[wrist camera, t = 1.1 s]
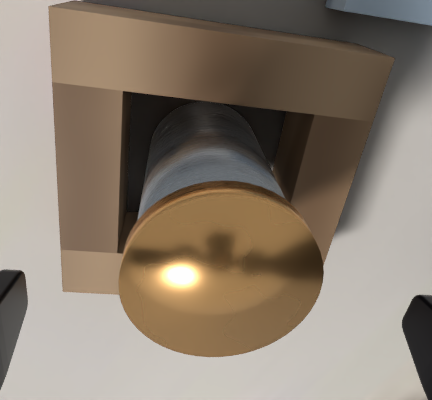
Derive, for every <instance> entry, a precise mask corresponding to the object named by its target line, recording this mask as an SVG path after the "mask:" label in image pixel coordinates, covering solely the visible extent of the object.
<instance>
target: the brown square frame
mask: <svg viewBox="0 0 432 400" xmlns="http://www.w3.org/2000/svg"><path fill="white" fill-rule="evenodd" d="M48 7H49V27H50V47H51V67H52V87H53V107H54V126H55V146H56V166H57V186H58V206H59V226H60V246H61V266H62V286H63V292H79V293H98V294H118V295H119V284H118V280H119V272H120V267H121V262H122V257H123V252H124V248H125V244H126V241H127V238H128V236H129V234H130V232H131V230H132V228H133V226H134V225H135V224H136V222H137V220H138V214H139V213H137V212H126V210H127V188H128V165H129V143H130V120H131V98H132V92H136V93H144V94H152V95H160V96H168V97H176V98H184V99H193V100H201V101H209V102H217V103H225V104H233V105H241V106H249V107H257V108H265V109H273V110H282V111H287V112H286V116H285V120H284V124H283V129H282V133H281V137H280V141H279V146H278V150H277V154H276V158H275V163H274V167H273V171H272V172H273V174H274V176H275V178H276V180H277V183H278V185H279V187H280V189H281V191H282V193H283V195H284V197H285V199H286V200H287V201H288V202H289V203H291V204H292V205H293V206H294V207H295V208H296V209H297V211H298V212H299V213H300V214H301V215H302V217H303V219H304V220H305V222H306V223H307V225H308V227H309V229H310V231H311V233H312V235H313V237H314V239H315V241H316V243H317V245H318V247H319V250H320V252H321V256H322V260H323V265H324V262H325V259H326V256H327V253H328V251H329V248H330V245H331V242H332V239H333V236H334V233H335V230H336V227H337V225H338V222H339V219H340V216H341V213H342V210H343V207H344V204H345V201H346V199H347V196H348V193H349V190H350V187H351V184H352V181H353V178H354V175H355V172H356V170H357V167H358V164H359V161H360V158H361V155H362V152H363V149H364V146H365V144H366V141H367V138H368V135H369V132H370V129H371V126H372V123H373V120H374V118H375V115H376V112H377V109H378V106H379V103H380V100H381V97H382V94H383V92H384V89H385V86H386V83H387V80H388V77H389V74H390V71H391V68H392V66H393V63H394V60H395V58H394V57H391V56H388V55H386V54H383V53H380V52H377V51H375V50H372V49H369V48H367V47H364V46H361V45H359V44H356V43H349V42H343V41H336V40H329V39H323V38H316V37H310V36H303V35H297V34H290V33H284V32H277V31H271V30H264V29H257V28H251V27H244V26H238V25H231V24H225V23H218V22H212V21H205V20H199V19H192V18H186V17H179V16H172V15H166V14H159V13H153V12H146V11H140V10H133V9H127V8H120V7H114V6H107V5H101V4H94V3H87V2H81V1H70V2H65V3H61V4H56V5H52V6H48Z"/></svg>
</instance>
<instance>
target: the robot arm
mask: <svg viewBox="0 0 432 400" xmlns="http://www.w3.org/2000/svg"><path fill="white" fill-rule="evenodd" d="M27 304H28V298H27V288H26V279H25V274H24V272H22V271H20V270H1V271H0V389H1V387H2V385H3V382H4V380H5V377H6V374H7V371H8V368H9V365H10V362H11V358H12V355H13V352H14V349H15V346H16V342H17V339H18V336H19V333H20V330H21V326H22V323H23V320H24V317H25V314H26V310H27ZM402 328H403V332H404V335H405V338H406V340H407V343H408V346H409V349H410V352H411V355H412V358H413V361H414V364H415V367H416V370H417V372H418V375H419V378H420V381H421V384H422V386H423V389H424V391H425V394H426V396H427V398H428V400H432V296H431V295H416V296H415V297H414V298H413V299H412V301H411V303H410V305H409V307H408V309H407V311H406V313H405V315H404V317H403V320H402Z"/></svg>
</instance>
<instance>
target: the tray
mask: <svg viewBox="0 0 432 400" xmlns="http://www.w3.org/2000/svg"><path fill="white" fill-rule="evenodd" d="M325 7H326V8H331V9H336V10H341V11H346V12H352V13H358V14H364V15H370V16H376V17H382V18H388V19H394V20H401V21H407V22H413V23H419V24H425V25H431V26H432V0H327V2H326V6H325Z"/></svg>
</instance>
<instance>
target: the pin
mask: <svg viewBox="0 0 432 400" xmlns="http://www.w3.org/2000/svg"><path fill="white" fill-rule="evenodd" d="M323 274H324V271H323V260H322V256H321V252H320V250H319V247H318V245H317V243H316V241H315V239H314V237H313V235H312V233H311V231H310V229H309V227H308V225H307V223H306V222H305V220H304V219H303V217H302V215H301V214H300V213H299V212H298V211H297V209H296V208H295V207H294V206H293V205H292V204H291V203H289V202H288V201H287V200H286V199H285V197H284V195H283V193H282V191H281V189H280V187H279V185H278V183H277V180H276V178H275V176H274V174H273V172H272V170H271V168H270V166H269V164H268V162H267V160H266V158H265V156H264V154H263V151H262V149H261V147H260V145H259V143H258V141H257V139H256V137H255V135H254V133H253V131H252V129H251V127H250V125H249V124H248V122H247V121H246V120H245V119H244V118H243V117H242V116H241V115H240V114H239V113H238V112H236V111H235V110H233V109H232V108H229V107H227V106H225V105H222V104H219V103H215V102H205V101H203V102H194V103H189V104H186V105H183V106H181V107H179V108H177V109H175V110H173V111H172V112H170V113H169V114H168V115H167V116H166V117H165V118H164V119H163V120H162V121H161V122H160V123H159V125H158V126H157V128H156V129H155V131H154V134H153V136H152V139H151V143H150V149H149V155H148V161H147V167H146V173H145V178H144V184H143V190H142V196H141V202H140V208H139V214H138V220H137V222H136V224H135V225H134V226H133V228H132V230H131V232H130V234H129V236H128V238H127V241H126V244H125V248H124V252H123V257H122V262H121V267H120V272H119V280H118V284H119V295H120V299H121V303H122V305H123V308H124V310H125V312H126V314H127V315H128V317H129V319H130V320H131V322H132V323H133V324H134V325H135V326H136V327H137V329H138V330H140V331H141V332H142V333H143V334H144V335H145V336H147V337H148V338H150V339H151V340H152V341H154V342H156V343H158V344H159V345H161V346H163V347H166V348H168V349H171V350H173V351H176V352H180V353H184V354H188V355H194V356H203V357H223V356H233V355H238V354H243V353H247V352H250V351H254V350H257V349H259V348H262V347H264V346H267V345H269V344H271V343H273V342H275V341H277V340H278V339H280V338H282V337H283V336H285V335H286V334H288V333H289V332H290V331H292V330H293V329H294V328H295V327H296V326H297V325H298V324H299V323H300V322H302V321H303V319H304V318H305V317H306V316H307V315H308V313H309V312H310V311H311V309H312V307H313V306H314V304H315V302H316V300H317V298H318V296H319V293H320V290H321V287H322V283H323Z"/></svg>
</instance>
